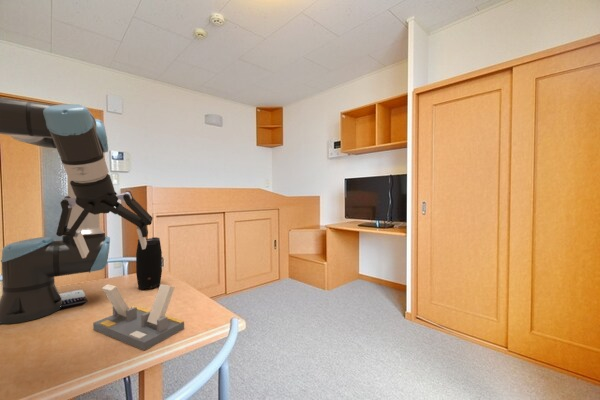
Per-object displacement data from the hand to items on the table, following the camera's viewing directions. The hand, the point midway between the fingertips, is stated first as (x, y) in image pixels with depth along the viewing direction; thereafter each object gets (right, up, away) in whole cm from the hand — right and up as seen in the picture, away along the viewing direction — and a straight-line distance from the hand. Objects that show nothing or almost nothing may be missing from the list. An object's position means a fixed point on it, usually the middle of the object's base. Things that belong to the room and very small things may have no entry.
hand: (116, 250), depth 72 cm
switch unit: (+3, -23, +5) cm, 24 cm away
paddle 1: (-3, -20, +8) cm, 22 cm away
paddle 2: (+9, -20, +2) cm, 22 cm away
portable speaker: (-12, -22, +38) cm, 46 cm away
